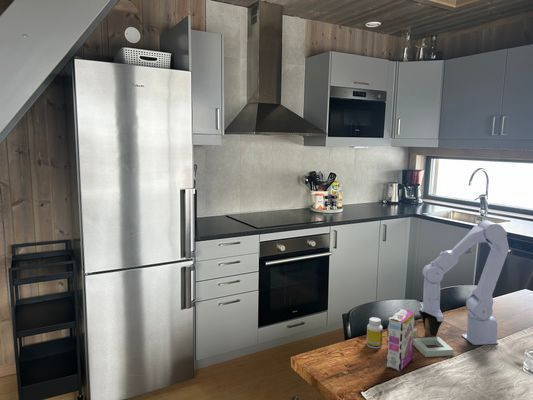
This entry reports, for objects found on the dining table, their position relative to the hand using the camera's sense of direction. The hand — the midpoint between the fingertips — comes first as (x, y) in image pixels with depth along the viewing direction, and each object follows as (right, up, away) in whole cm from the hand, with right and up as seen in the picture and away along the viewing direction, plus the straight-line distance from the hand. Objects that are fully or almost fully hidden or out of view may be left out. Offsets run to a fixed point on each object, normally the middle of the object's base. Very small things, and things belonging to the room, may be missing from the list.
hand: (430, 332), depth 151 cm
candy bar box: (-17, -4, -18) cm, 26 cm away
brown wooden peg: (0, -2, 0) cm, 2 cm away
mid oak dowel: (-7, -2, +3) cm, 8 cm away
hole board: (-3, -3, -9) cm, 10 cm away
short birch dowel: (-8, -2, -2) cm, 8 cm away
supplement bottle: (-23, -3, -6) cm, 23 cm away
